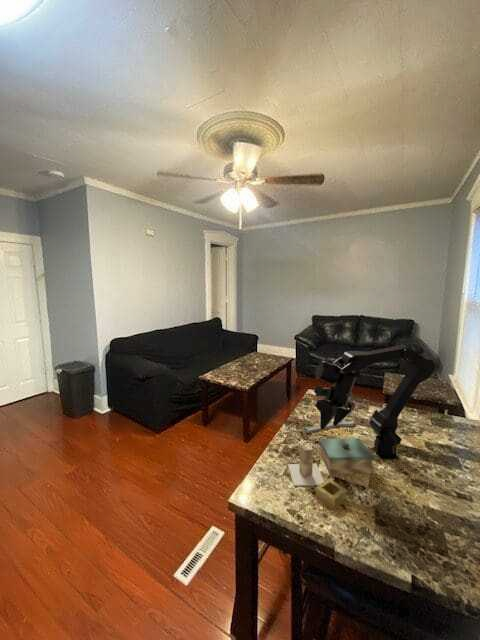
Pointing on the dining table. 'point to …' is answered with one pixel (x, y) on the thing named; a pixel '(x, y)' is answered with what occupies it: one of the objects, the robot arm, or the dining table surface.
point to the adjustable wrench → (328, 426)
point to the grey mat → (307, 481)
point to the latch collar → (328, 498)
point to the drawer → (346, 456)
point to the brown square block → (306, 460)
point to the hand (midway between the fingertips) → (328, 427)
